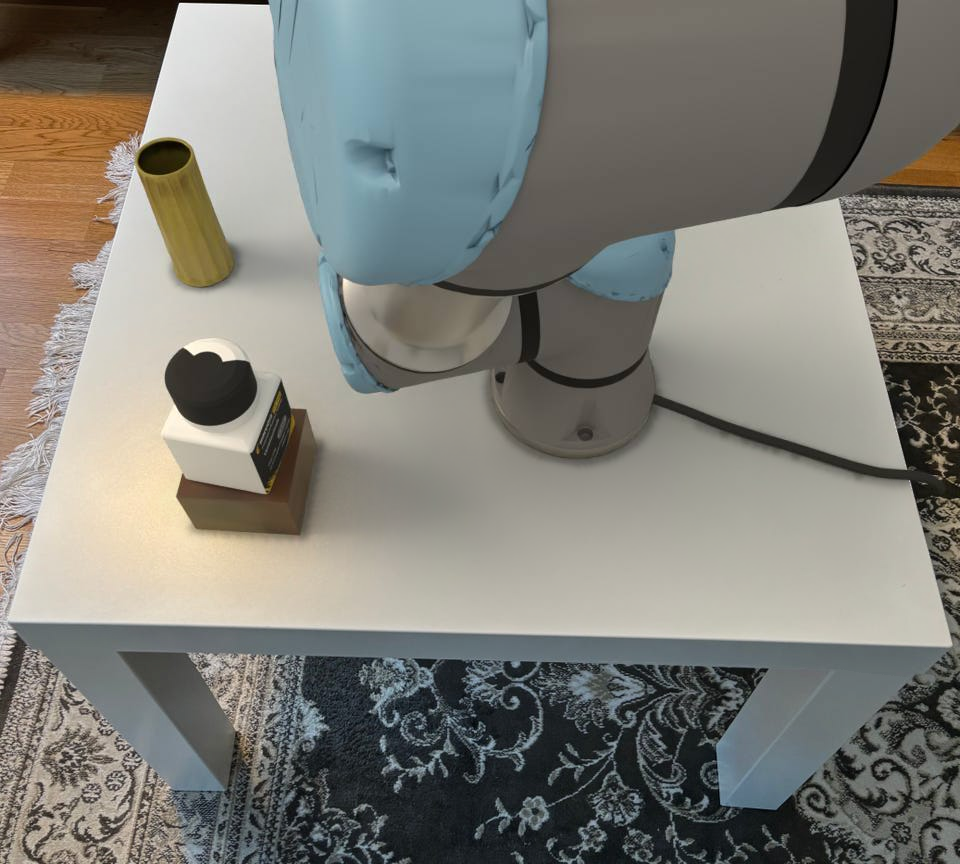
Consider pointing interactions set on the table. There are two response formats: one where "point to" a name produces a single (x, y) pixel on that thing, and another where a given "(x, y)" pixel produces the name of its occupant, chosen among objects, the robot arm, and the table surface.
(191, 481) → the block
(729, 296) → the table surface
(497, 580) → the table surface
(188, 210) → the vase
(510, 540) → the table surface
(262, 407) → the medicine bottle
